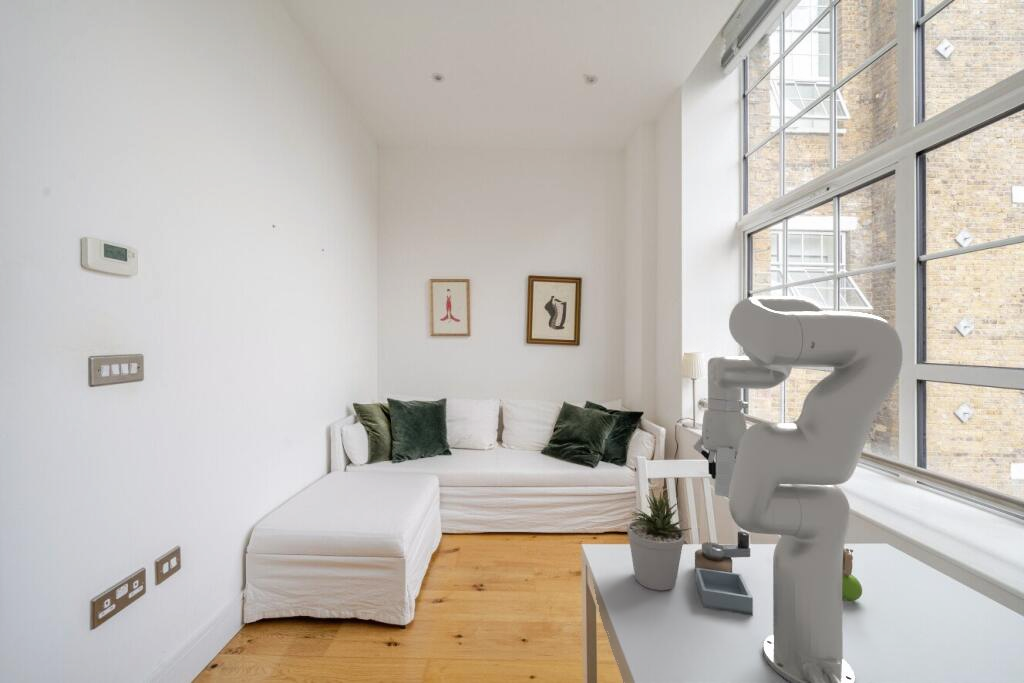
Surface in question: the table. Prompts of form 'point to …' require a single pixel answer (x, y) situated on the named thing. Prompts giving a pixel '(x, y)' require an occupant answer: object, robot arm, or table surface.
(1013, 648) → the table surface
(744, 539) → the crank
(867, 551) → the table surface
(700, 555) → the crank pedestal
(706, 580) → the tray
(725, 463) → the skincare box
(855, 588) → the snail figurine
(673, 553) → the potted plant
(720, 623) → the table surface
